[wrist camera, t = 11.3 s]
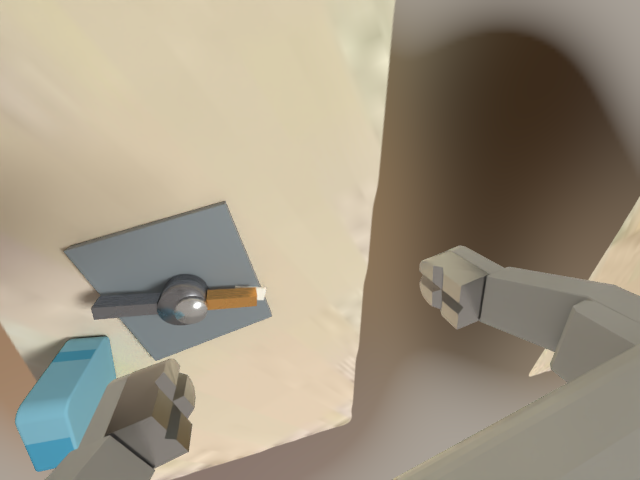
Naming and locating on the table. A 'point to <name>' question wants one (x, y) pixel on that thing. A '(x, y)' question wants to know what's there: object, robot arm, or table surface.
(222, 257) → the stand
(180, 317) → the bar with grey ball
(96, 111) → the table surface
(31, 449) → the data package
